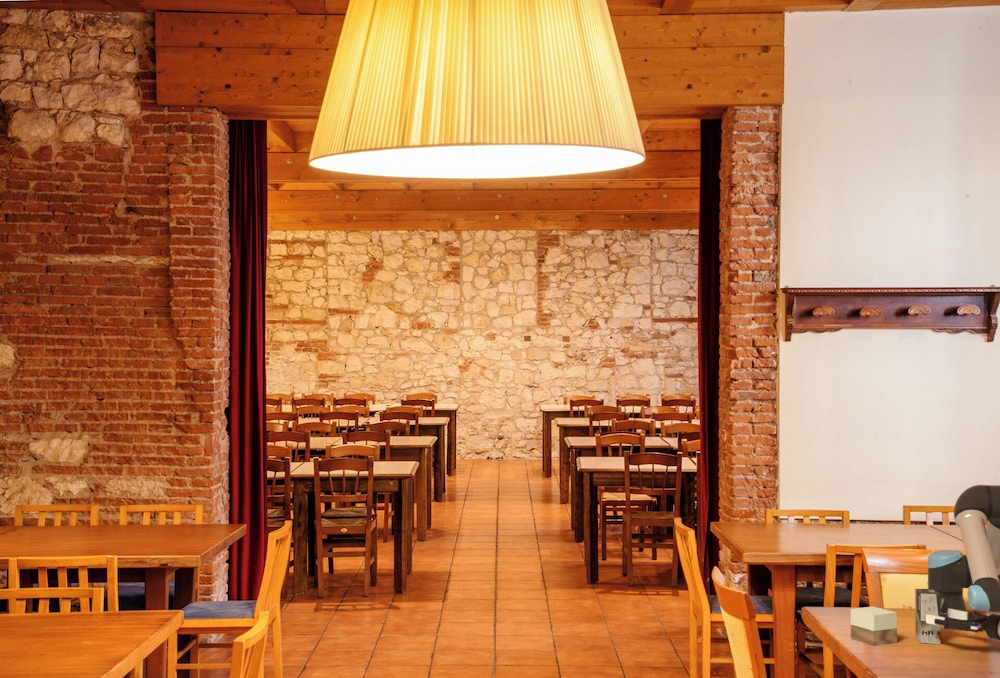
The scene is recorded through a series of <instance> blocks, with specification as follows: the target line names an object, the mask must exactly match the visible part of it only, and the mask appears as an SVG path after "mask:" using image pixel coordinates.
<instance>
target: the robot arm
mask: <svg viewBox="0 0 1000 678" xmlns="http://www.w3.org/2000/svg"><path fill="white" fill-rule="evenodd" d="M953 517H954V523H955V525H956V526H957V527H958V528H959V530H960V534H961V537H962V538H961V539H962V542H963V543H962V544H963V547H964V550H965V552H964V553H965V555H964V554H963V552H962V551H961V550H956V549H954V550H952V549H948V550H947V549H946V550H939V551H937V550H936V551H934V552H931V553H929V555H928V558H927V566H926V568H927V589H935V590H936V591H937V592H938V593H940V594H941V595H940V607H941V612H940V615H941V617H939V616H934V615H929V614H926V623H929V624H934V625H939V626H941V627H943V629H944V630H954V631H966V632H972V633H973V632H974V633H978V632H981V633H982V632H983V631H984V632H985V633H986V636H987V637H988V638H989V639H992V640H997V641H1000V614H995V612H997V613H1000V485H998V484H997V485H994V484H993V485H991V484H990V485H988V484H986V485H985V484H976V485H973V486H970V487H968V488H966V489H965V490H964V491H963V492H961V494H960V495H959V496H958V497H957V500H956V502H955V504H954V508H953ZM964 589H967V598H968V599H967V602H968V605H969V607H970V609H971V610H973V612H972V611H968V609H967V606H966V601H965V598H964ZM977 611H978V612H977ZM981 612H985V613H987V612H988V613H989V612H991V614H989V615H987V614H984V613H981ZM992 612H994V613H992Z"/></svg>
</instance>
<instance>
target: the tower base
mask: <svg viewBox="0 0 1000 678" xmlns="http://www.w3.org/2000/svg"><path fill="white" fill-rule="evenodd" d="M850 639H851V640H853V641H856V642H859V643H862V642H863V643H862V644H865V643H866V644H865V645H868V644H869V646H872V647H876V646H877V647H879V646H885V645H892V644H897V643H898V627H897V628H894V629H886V630H878V631H872V630H868V629H865V628H861V627H858V626H854V625H851V624H850Z"/></svg>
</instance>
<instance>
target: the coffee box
mask: <svg viewBox="0 0 1000 678" xmlns="http://www.w3.org/2000/svg"><path fill="white" fill-rule="evenodd" d="M940 595H941V594H940V593H938V592H937V591H936V590H935V589H928V588H915V589H914V600H915V601H914V605H915V606H914V612H915V615H914V616H915V617H914V619H915V638H917V640H918V641H919V642H920V643H921V644H932V645H935V644H936V645H941V643H942V642H941V641H942V640H941V630H942V629H941V627H942V626H939V625H934V624H929V623H926V614H929V615H934V616H939V617H941V615H940V612H941V607H940Z"/></svg>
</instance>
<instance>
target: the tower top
mask: <svg viewBox="0 0 1000 678" xmlns="http://www.w3.org/2000/svg"><path fill="white" fill-rule="evenodd" d="M897 618H898V617H897V612H896V611H891V610H890V609H889V610H888V609H885V608H880V607H876V606H872V605H871V606H866V607H865V606H864V607H858V608H850V626H851V625H854V626H858V627H861V628H865V629H868V630H872V631H878V630H886V629H894V628H897V629H898V626H897V624H898V623H897V620H898V619H897Z"/></svg>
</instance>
